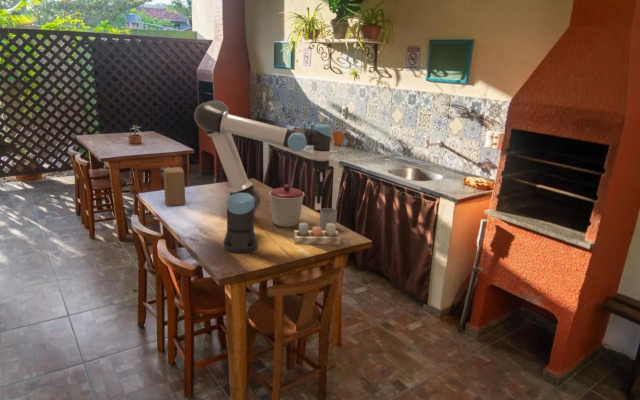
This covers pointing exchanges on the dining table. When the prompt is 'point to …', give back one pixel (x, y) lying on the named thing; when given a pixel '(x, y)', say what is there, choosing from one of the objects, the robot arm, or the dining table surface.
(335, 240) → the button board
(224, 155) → the robot arm
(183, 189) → the block
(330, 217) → the cup
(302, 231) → the grey egg
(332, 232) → the pale green egg
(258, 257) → the dining table surface
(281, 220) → the canister
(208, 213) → the dining table surface
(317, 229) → the brown egg
